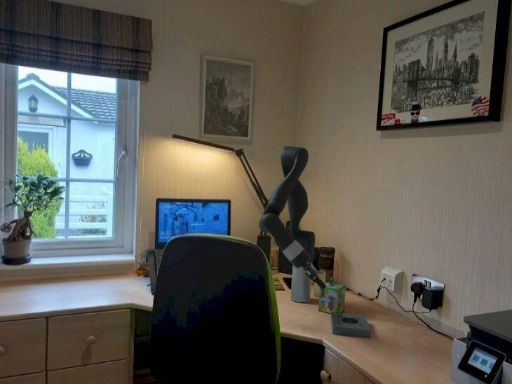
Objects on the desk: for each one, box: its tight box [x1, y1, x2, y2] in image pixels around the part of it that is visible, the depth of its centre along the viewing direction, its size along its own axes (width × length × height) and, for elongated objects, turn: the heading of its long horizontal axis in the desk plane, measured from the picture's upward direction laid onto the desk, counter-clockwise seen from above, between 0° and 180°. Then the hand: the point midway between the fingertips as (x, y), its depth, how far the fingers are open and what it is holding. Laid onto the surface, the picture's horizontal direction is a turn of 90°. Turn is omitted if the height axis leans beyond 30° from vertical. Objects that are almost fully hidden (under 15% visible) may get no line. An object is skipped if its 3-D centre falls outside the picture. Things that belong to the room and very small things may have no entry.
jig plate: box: [330, 312, 372, 339], centre depth 164 cm, size 16×14×3 cm
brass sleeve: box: [312, 270, 327, 299], centre depth 165 cm, size 4×4×10 cm
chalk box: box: [318, 276, 347, 314], centre depth 183 cm, size 9×9×15 cm
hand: (324, 286), depth 165 cm, fingers closed on brass sleeve, 4 cm apart
